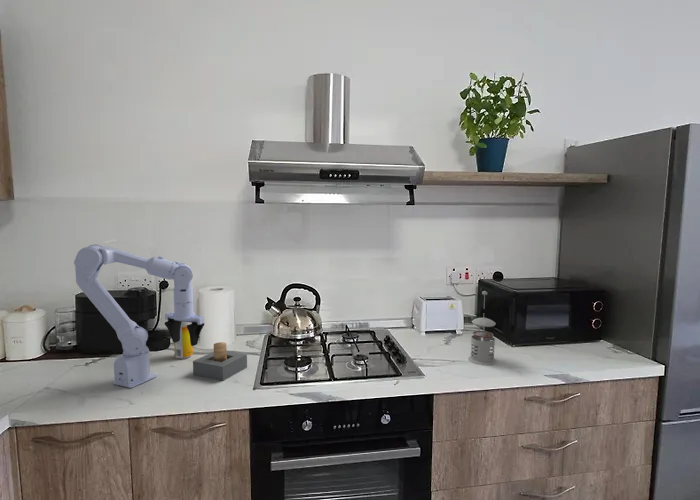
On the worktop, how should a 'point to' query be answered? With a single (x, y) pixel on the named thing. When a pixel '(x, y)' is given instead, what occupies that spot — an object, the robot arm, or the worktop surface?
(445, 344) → the worktop surface
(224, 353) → the dowel
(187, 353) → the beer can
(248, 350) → the worktop surface
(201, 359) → the socket block
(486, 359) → the french press
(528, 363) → the worktop surface
